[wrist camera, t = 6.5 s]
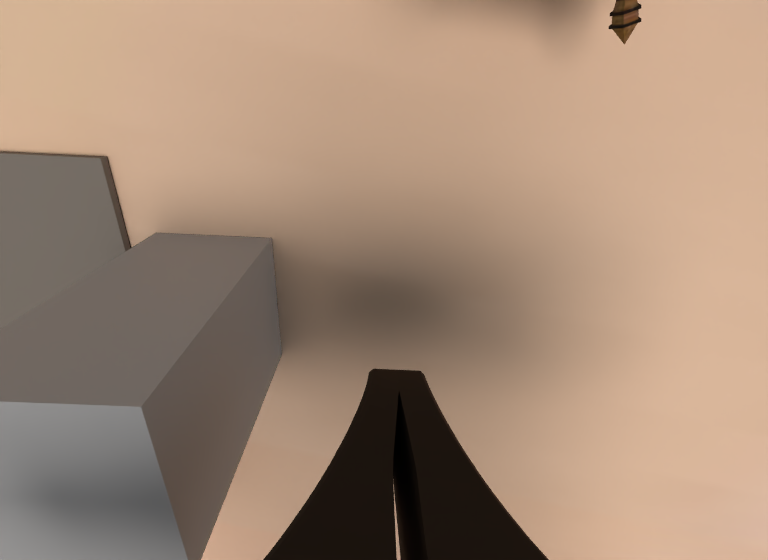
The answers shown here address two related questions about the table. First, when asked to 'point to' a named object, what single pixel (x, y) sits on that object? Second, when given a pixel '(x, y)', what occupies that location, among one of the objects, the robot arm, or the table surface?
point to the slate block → (135, 400)
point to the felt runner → (54, 226)
